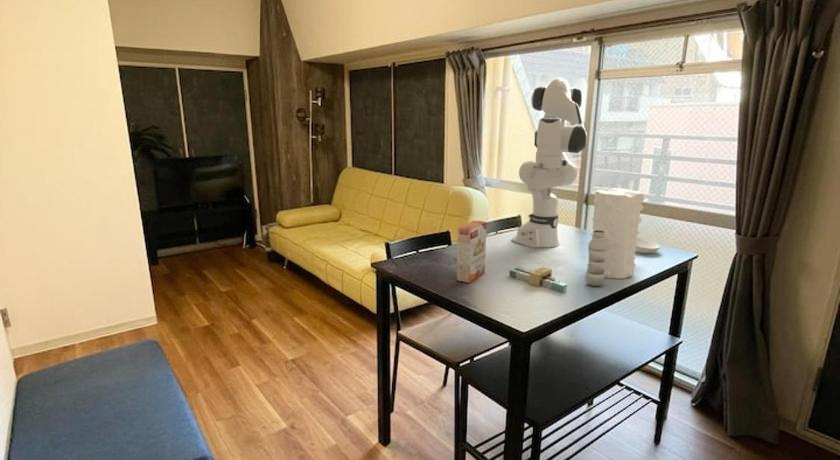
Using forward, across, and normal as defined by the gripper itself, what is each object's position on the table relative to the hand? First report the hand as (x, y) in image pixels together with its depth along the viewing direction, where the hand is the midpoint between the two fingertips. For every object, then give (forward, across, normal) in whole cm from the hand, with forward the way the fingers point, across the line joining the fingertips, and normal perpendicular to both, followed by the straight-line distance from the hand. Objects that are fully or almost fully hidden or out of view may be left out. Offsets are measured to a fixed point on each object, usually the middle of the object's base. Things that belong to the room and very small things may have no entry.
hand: (545, 200), depth 171 cm
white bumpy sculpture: (+29, +20, -18) cm, 40 cm away
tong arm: (+29, -7, -1) cm, 30 cm away
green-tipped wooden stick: (+29, -10, -4) cm, 31 cm away
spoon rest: (+30, +56, -11) cm, 64 cm away
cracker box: (+29, -22, +17) cm, 40 cm away
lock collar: (+29, -9, -5) cm, 31 cm away
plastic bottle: (+29, +3, -20) cm, 36 cm away
